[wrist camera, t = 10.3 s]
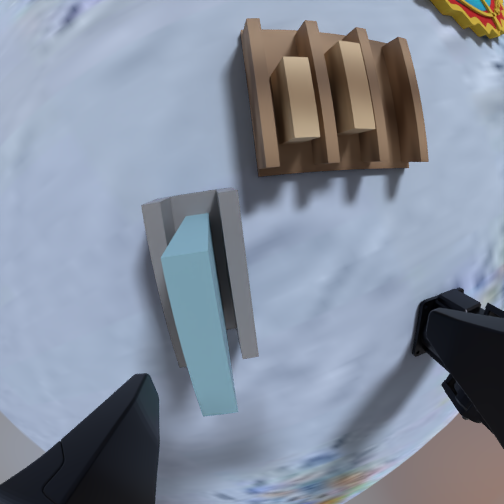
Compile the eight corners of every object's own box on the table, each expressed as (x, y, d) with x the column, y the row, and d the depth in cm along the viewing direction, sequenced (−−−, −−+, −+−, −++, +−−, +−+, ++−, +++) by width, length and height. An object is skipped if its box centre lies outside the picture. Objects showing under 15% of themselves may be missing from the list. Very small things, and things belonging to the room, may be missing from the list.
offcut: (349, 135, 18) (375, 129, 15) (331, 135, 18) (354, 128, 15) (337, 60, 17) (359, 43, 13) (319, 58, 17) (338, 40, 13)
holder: (248, 322, 21) (258, 356, 17) (183, 332, 21) (179, 367, 16) (231, 187, 19) (237, 190, 14) (156, 199, 18) (141, 205, 14)
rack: (405, 167, 20) (429, 168, 17) (258, 176, 19) (267, 176, 16) (384, 45, 17) (404, 33, 14) (240, 33, 16) (245, 13, 13)
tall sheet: (223, 310, 20) (238, 411, 11) (203, 313, 20) (203, 416, 10) (208, 212, 18) (208, 250, 9) (185, 216, 18) (160, 257, 9)
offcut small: (301, 143, 18) (320, 136, 15) (279, 144, 18) (294, 137, 14) (291, 75, 17) (307, 57, 13) (270, 76, 16) (282, 56, 13)
